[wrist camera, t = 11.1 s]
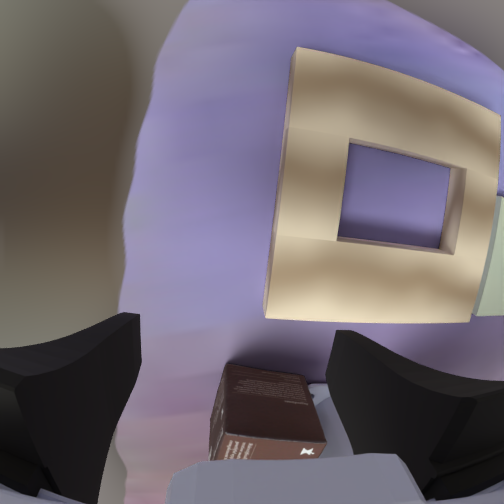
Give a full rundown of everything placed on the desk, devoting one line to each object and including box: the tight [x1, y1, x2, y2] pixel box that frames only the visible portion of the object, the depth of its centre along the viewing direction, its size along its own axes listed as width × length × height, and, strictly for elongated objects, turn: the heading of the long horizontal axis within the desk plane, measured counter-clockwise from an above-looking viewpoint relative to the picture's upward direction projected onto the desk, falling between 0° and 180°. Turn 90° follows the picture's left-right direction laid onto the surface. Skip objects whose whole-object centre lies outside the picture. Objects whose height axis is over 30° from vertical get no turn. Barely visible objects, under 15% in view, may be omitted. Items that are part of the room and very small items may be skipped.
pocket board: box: [263, 47, 501, 323], centre depth 19 cm, size 16×16×2 cm
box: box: [209, 364, 327, 461], centre depth 19 cm, size 6×6×7 cm
